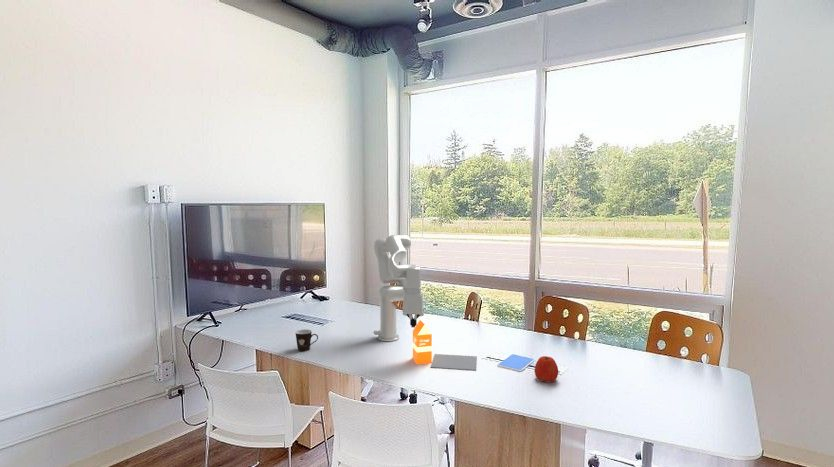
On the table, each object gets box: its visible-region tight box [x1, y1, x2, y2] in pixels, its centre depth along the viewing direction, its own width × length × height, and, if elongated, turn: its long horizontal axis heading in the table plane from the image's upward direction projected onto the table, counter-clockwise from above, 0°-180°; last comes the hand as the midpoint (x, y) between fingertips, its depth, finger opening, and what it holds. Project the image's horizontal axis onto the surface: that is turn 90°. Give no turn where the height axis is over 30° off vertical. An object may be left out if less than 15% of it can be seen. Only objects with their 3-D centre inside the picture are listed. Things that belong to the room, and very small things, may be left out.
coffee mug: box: [295, 328, 319, 353], centre depth 223 cm, size 12×9×10 cm
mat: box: [430, 353, 478, 372], centre depth 205 cm, size 22×18×1 cm
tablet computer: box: [496, 354, 535, 373], centre depth 204 cm, size 19×13×1 cm, turn 144°
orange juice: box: [412, 319, 433, 365], centre depth 207 cm, size 8×9×20 cm
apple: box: [534, 355, 559, 383], centre depth 185 cm, size 10×10×10 cm
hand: (413, 326), depth 208 cm, fingers closed
